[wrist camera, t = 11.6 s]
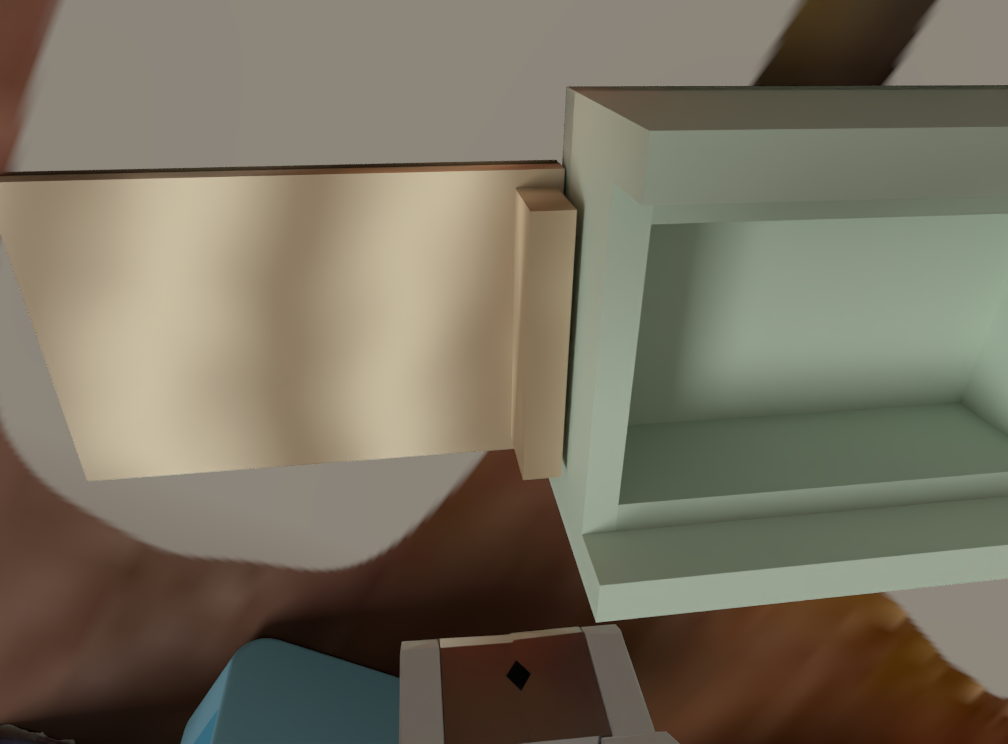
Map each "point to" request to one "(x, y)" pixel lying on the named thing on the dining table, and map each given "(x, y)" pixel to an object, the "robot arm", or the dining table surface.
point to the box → (785, 343)
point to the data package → (295, 700)
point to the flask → (26, 737)
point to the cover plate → (299, 311)
